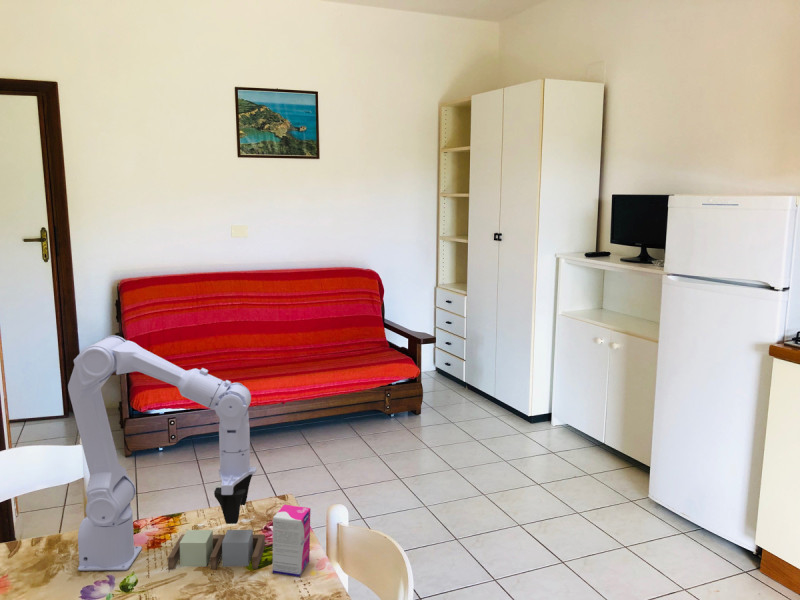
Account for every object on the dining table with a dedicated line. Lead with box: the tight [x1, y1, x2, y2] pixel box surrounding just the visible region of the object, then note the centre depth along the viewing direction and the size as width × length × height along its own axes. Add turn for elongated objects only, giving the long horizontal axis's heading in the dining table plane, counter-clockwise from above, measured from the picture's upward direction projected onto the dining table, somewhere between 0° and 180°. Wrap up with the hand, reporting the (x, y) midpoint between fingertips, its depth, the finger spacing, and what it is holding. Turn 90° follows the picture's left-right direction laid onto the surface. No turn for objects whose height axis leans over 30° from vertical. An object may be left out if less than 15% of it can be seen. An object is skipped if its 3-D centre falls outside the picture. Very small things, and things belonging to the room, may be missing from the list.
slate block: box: [221, 529, 254, 567], centre depth 127 cm, size 5×5×5 cm
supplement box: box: [271, 504, 311, 578], centre depth 124 cm, size 6×6×12 cm
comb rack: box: [167, 533, 266, 570], centre depth 128 cm, size 17×8×2 cm, turn 92°
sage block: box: [179, 529, 214, 568], centre depth 127 cm, size 5×5×5 cm
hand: (236, 513), depth 127 cm, fingers open, 7 cm apart
